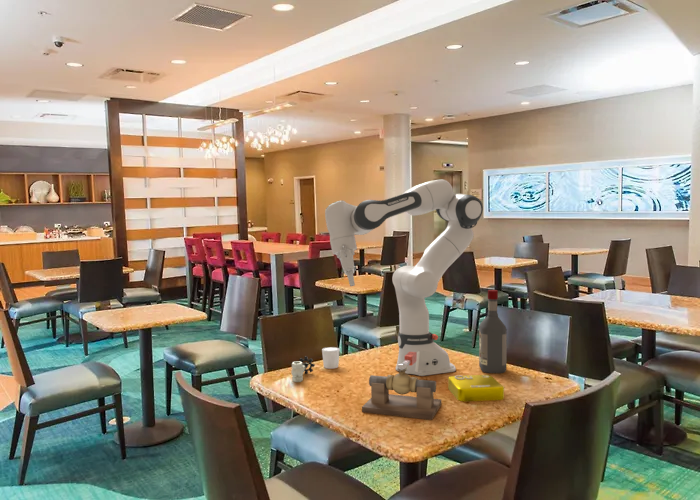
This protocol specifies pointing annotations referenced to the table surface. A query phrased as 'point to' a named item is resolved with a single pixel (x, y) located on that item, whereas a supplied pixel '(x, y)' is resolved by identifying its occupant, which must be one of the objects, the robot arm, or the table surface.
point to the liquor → (492, 339)
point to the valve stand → (402, 397)
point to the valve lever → (407, 361)
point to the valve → (301, 369)
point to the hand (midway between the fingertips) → (352, 285)
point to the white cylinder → (330, 357)
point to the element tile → (475, 388)
